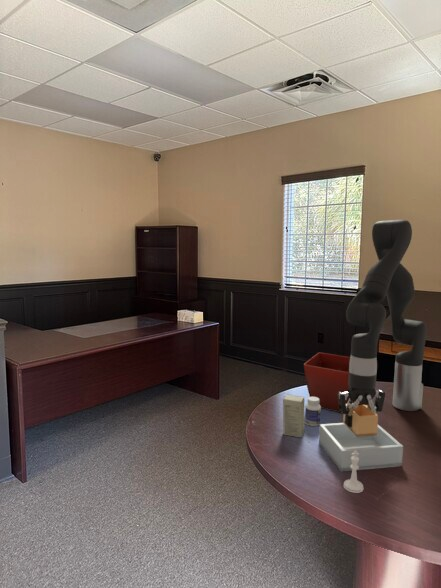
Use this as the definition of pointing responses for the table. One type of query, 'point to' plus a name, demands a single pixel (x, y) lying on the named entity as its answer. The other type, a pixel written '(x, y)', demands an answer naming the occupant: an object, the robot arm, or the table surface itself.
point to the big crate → (360, 447)
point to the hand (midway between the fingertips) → (359, 425)
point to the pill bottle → (313, 411)
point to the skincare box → (293, 415)
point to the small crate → (363, 421)
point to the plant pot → (327, 378)
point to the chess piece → (354, 477)
